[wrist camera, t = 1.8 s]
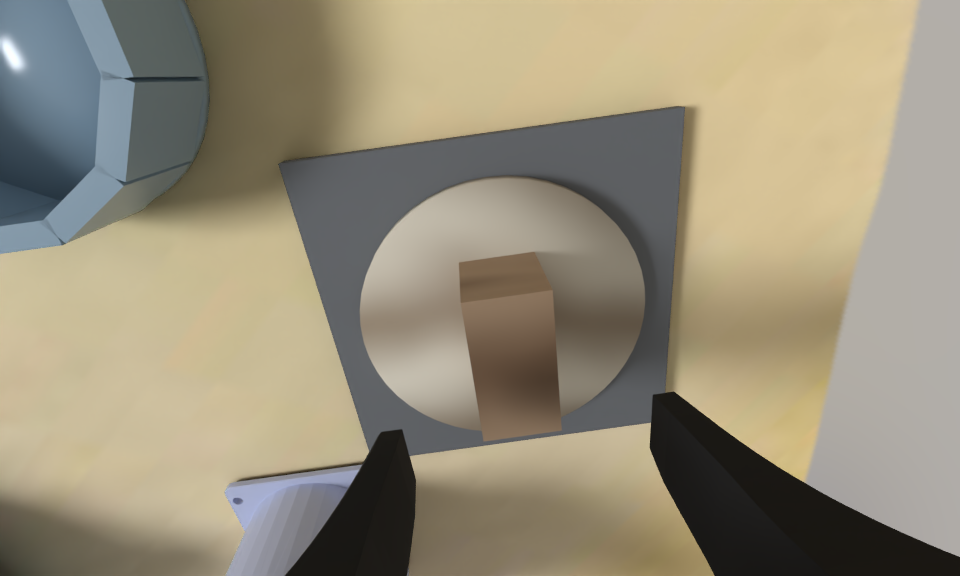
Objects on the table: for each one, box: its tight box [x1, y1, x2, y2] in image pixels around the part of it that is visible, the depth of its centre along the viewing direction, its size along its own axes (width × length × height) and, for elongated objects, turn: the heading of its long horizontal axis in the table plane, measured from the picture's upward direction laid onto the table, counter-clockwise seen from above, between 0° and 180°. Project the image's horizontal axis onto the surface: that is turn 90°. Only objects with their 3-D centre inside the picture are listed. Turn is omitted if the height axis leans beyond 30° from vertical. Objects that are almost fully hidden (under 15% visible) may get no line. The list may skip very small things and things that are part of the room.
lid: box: [360, 175, 645, 441], centre depth 18 cm, size 12×12×4 cm
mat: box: [278, 106, 685, 456], centre depth 20 cm, size 15×15×1 cm
